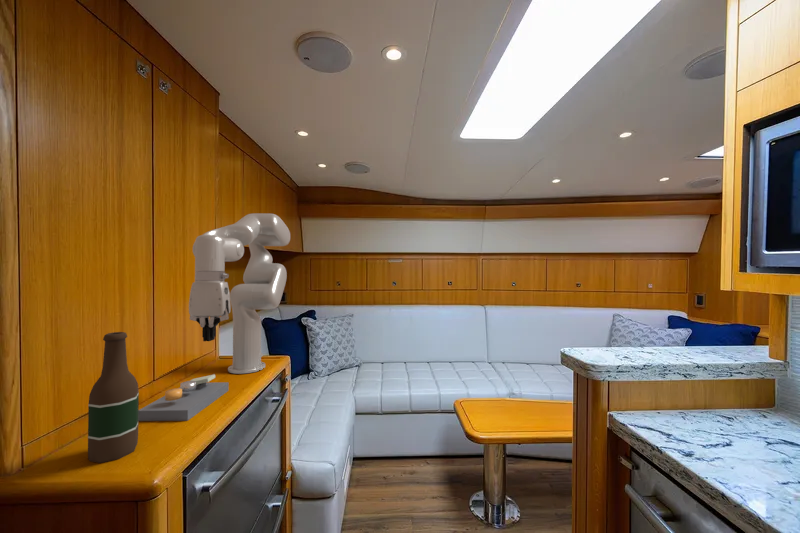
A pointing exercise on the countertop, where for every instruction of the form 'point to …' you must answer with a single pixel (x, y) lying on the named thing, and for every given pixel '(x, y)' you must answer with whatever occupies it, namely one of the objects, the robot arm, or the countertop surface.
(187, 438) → the countertop surface
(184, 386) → the button metal
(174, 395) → the button orange
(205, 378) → the block
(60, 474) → the countertop surface
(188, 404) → the panel
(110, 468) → the countertop surface
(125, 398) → the beer bottle
